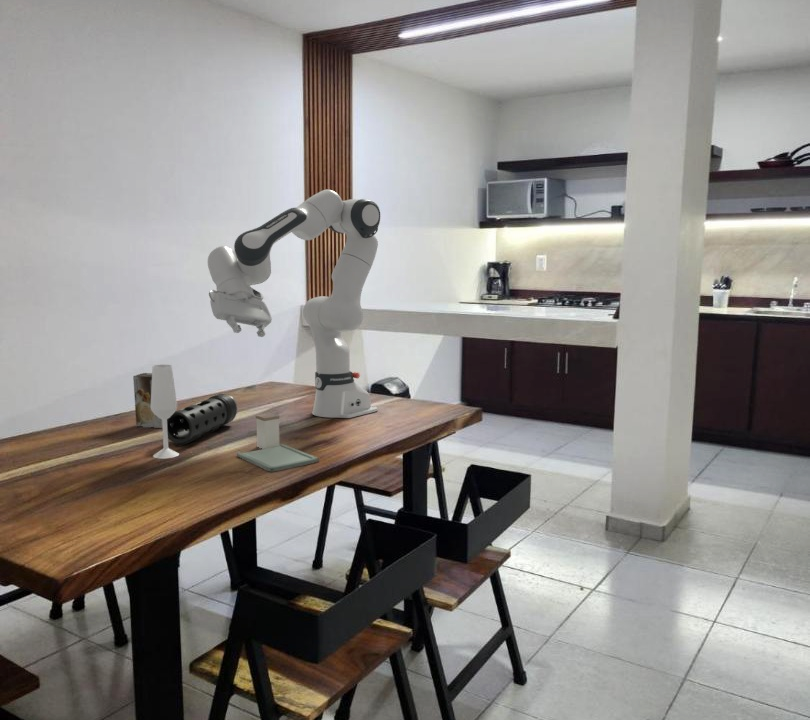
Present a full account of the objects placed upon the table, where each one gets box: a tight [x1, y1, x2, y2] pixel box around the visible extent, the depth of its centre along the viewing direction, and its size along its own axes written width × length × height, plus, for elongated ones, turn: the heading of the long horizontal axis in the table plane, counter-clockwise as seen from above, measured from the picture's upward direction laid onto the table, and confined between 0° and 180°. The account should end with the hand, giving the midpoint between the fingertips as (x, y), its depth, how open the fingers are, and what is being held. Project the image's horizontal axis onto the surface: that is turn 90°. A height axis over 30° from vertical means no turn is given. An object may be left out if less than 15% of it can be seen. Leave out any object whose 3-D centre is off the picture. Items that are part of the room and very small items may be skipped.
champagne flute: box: [151, 364, 180, 460], centre depth 191 cm, size 7×7×24 cm
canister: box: [255, 412, 280, 450], centre depth 200 cm, size 5×5×9 cm
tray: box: [236, 443, 320, 473], centre depth 189 cm, size 14×18×1 cm
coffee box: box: [133, 372, 163, 429], centre depth 225 cm, size 9×6×16 cm
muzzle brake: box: [167, 393, 239, 447], centre depth 214 cm, size 10×28×10 cm, turn 166°
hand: (250, 333), depth 208 cm, fingers open, 8 cm apart
